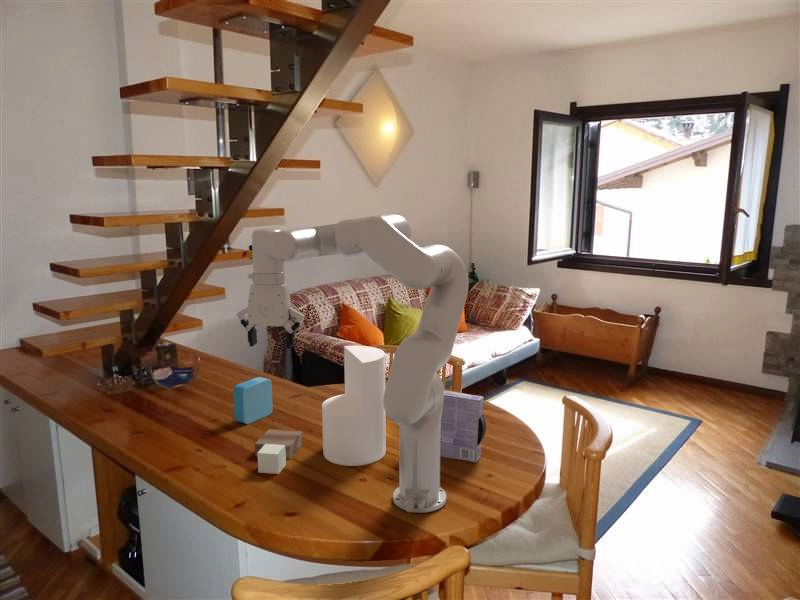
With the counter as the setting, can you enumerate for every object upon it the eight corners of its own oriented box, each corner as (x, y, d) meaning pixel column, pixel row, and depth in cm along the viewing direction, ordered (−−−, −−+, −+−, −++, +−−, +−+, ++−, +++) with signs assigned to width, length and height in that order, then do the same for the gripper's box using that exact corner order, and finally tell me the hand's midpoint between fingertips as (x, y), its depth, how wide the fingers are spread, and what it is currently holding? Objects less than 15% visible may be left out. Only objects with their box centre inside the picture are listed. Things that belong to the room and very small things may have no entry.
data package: (263, 410, 198) (261, 375, 196) (273, 413, 196) (271, 378, 194) (234, 422, 189) (232, 385, 186) (244, 425, 186) (242, 388, 184)
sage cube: (278, 474, 155) (277, 454, 154) (258, 472, 156) (257, 452, 155) (286, 464, 161) (285, 445, 160) (266, 463, 162) (265, 443, 160)
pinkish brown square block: (290, 460, 164) (289, 446, 163) (255, 457, 166) (254, 443, 165) (302, 444, 173) (302, 431, 173) (269, 442, 175) (269, 429, 174)
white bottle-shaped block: (374, 434, 179) (373, 343, 174) (394, 459, 163) (394, 359, 158) (316, 443, 173) (313, 349, 168) (332, 470, 157) (329, 366, 152)
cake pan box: (485, 456, 165) (487, 394, 161) (480, 464, 160) (482, 400, 157) (419, 445, 172) (419, 385, 169) (413, 452, 167) (413, 391, 164)
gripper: (229, 280, 147) (232, 348, 150) (297, 282, 144) (299, 352, 147) (242, 275, 154) (245, 340, 157) (307, 277, 151) (309, 344, 155)
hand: (271, 346), depth 152 cm, fingers open, 9 cm apart
